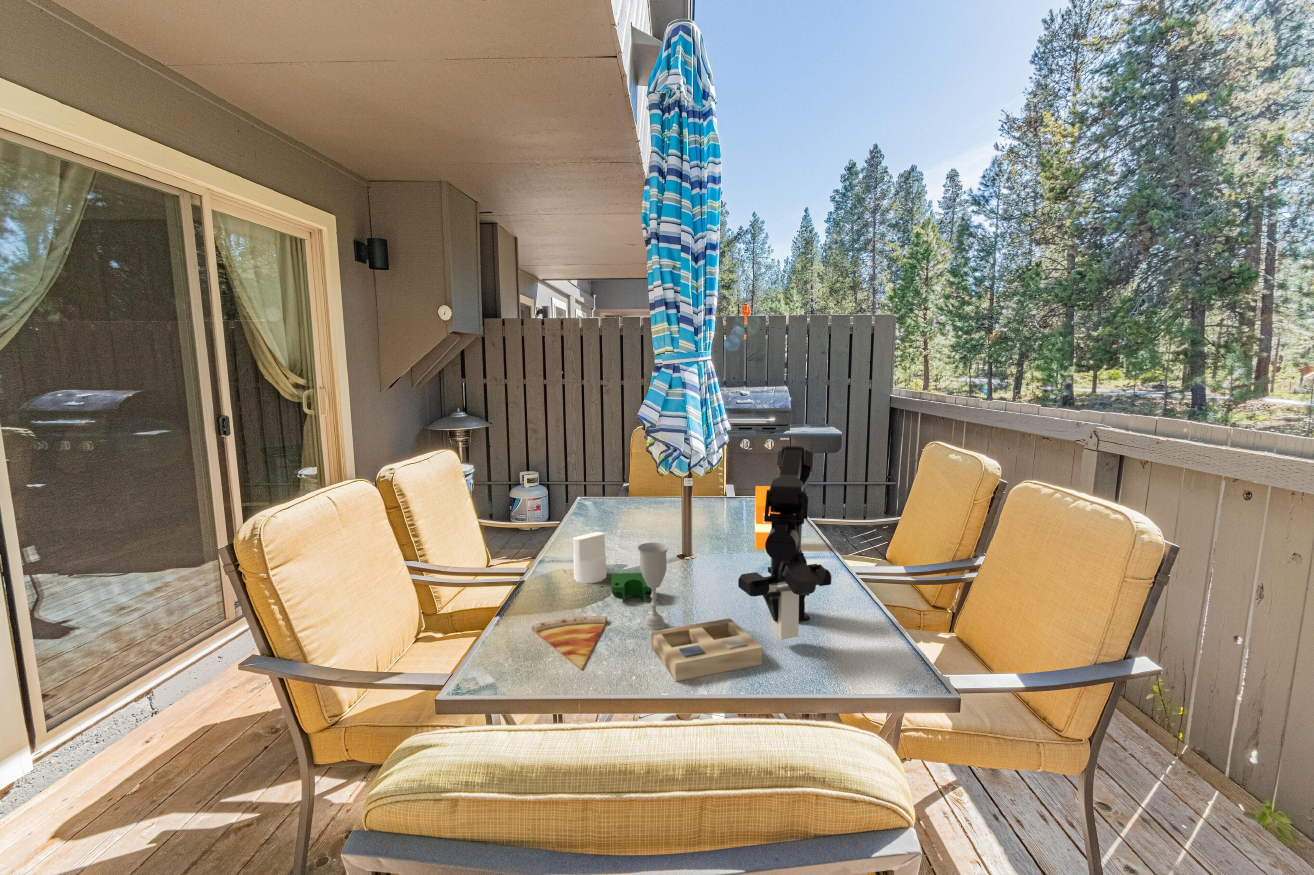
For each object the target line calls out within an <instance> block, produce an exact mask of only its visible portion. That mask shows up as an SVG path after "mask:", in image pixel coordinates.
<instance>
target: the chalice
mask: <svg viewBox="0 0 1314 875" xmlns="http://www.w3.org/2000/svg"><path fill="white" fill-rule="evenodd" d="M637 550H638V551H639V562H640V564H639V566H640V567H639V568H640V569H639V570H640V571H641V572H640V573H642V575H643V578H644V580H645V582H646V584H647V586H648V587H649V588H651V589H652V594H651V595H650V598H651V602H650V607H651V611H650V612H649V613H648V614H647V615H646V617H645V619H644V622H643V624H642V626H643V628H645V629H647V630H651V631H657V630H663V629H665V627H666V623H665V620H664V619H663V616H662V614H661V613H660V612H658V611H657V606H658V605H659V603H658V602H657V599H658V594H657V589H658V588H660V587H661V585H662V583H663V580H664V578H665V575H666V573H667V568H668V566H667V552H668V550H669V546H668V545H667V544H665V543H662V542H645V543H640V544H639V545H638V546H637Z"/></svg>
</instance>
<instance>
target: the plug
mask: <svg viewBox="0 0 1314 875" xmlns="http://www.w3.org/2000/svg"><path fill="white" fill-rule="evenodd" d="M777 592H779V593H780V594H781V596H780V597H779V598H778V621H777V622H775V621H774V620H773V618H772V616H771V615H770V632H772V633H773V634H774V635H775V636H776V637H777V638H778V639H780V640H787V639H791V638H797V637H799V622H800V621H799V595H796V594H794V593H793V592H792V591H791V588H790V587H789V586H788V584H782V585H777Z"/></svg>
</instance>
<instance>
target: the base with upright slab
mask: <svg viewBox="0 0 1314 875" xmlns="http://www.w3.org/2000/svg"><path fill="white" fill-rule="evenodd" d="M605 536H606V534H605V532H602V531H595V532H591V533H586V534H583V535H578V536H575V537H573V540H572V543H573V544H572V545H573V558H572V559H573V578H574V579H575V580H576V581H575V580H574V579H573V580H574V581H575V582H576V583H577V582H578V583H581V584H595V583H596V582H597V583H600V582H603V581H604V580H603V579H605V578H607V556H606V555H607V554H606V542H605V541H606V538H605ZM602 580H603V581H602ZM605 580H606V579H605ZM599 581H600V582H599Z"/></svg>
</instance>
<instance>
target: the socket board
mask: <svg viewBox="0 0 1314 875" xmlns="http://www.w3.org/2000/svg"><path fill="white" fill-rule="evenodd" d="M650 633H651V634H650V635H651V636H650V637H651V649H652V650H653V652H654V653H655V654H656V656H657V657H658V659H659V660H660V661H661V663H662V665H663V666H664V667H665V668H666V670H667V671H668V673H669V674H670V676H671V677H672V679H673V680H674V681H675V682H680V681H685V680H691V679H696V678H699V677H705V676H709V675H715V674H719V673H720V674H721V673H725V672H729V671H734V670H735V671H736V670H739V669H744V668H749V667H755V666H759V665H760V666H761V665H763V646H762V645H761V644H760V643H758V642H757V640H755V639H754V638H753V637H752V636H751V635H750V634H748V632H746V631H745V629H743V628H742V627H741V626H739V624H737V623H736V622H735V621H734V620H733V619H732V618H730V617H729V618H723V619H718V620H710V621H705V622H700V623H694V624H688V625H687V624H686V625H682V626H676V627H669V628H662V629H658V630H651V632H650Z"/></svg>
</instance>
